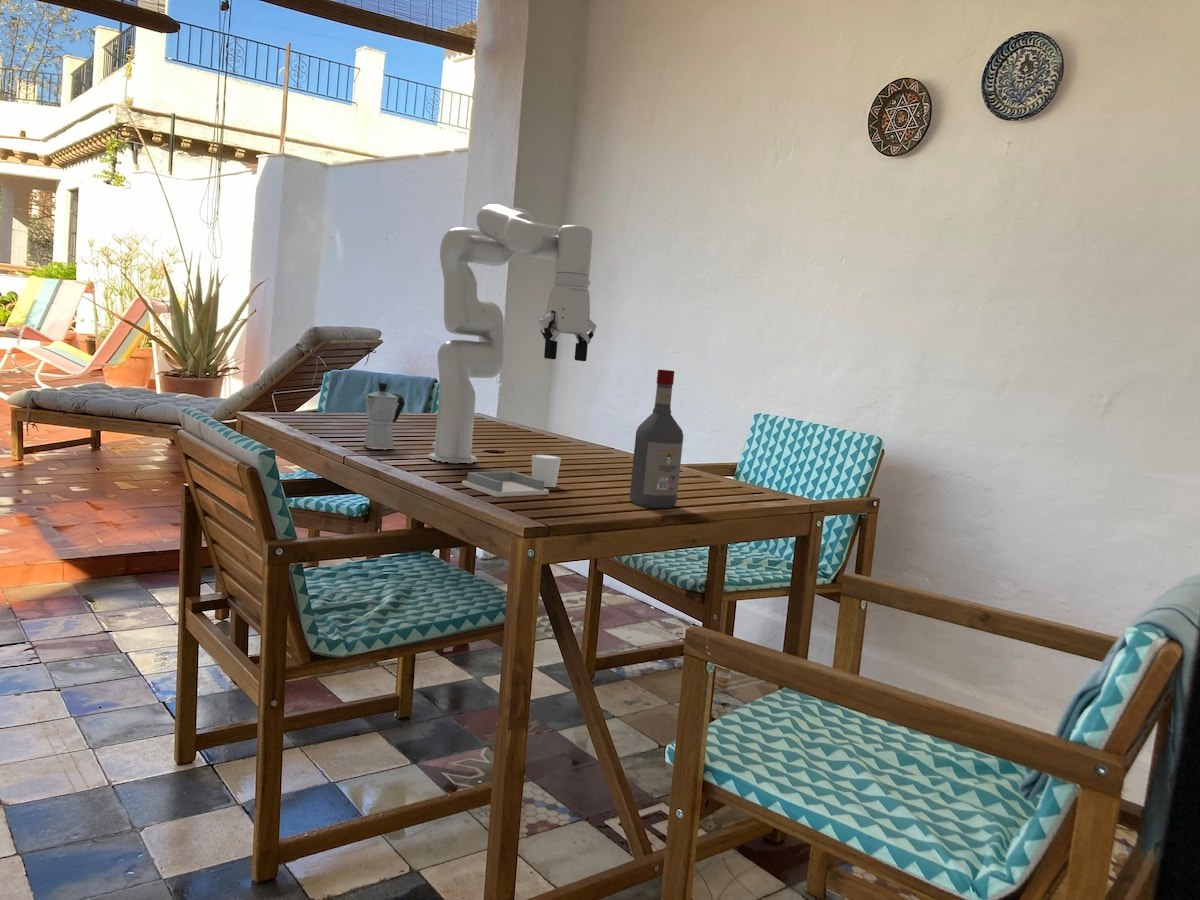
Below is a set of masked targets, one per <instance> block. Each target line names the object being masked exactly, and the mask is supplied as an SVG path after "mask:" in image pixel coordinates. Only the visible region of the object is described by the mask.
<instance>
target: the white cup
mask: <svg viewBox="0 0 1200 900" xmlns="http://www.w3.org/2000/svg"><path fill="white" fill-rule="evenodd" d="M561 460H562V458H561V457H559V456H557V455H551V454H533V455H531V477H534V478H537V479H541V480H544V481H545V482H544V487H554V488H556V487H555V486H557V483H558V477H559V471H560V465H561Z"/></svg>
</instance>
